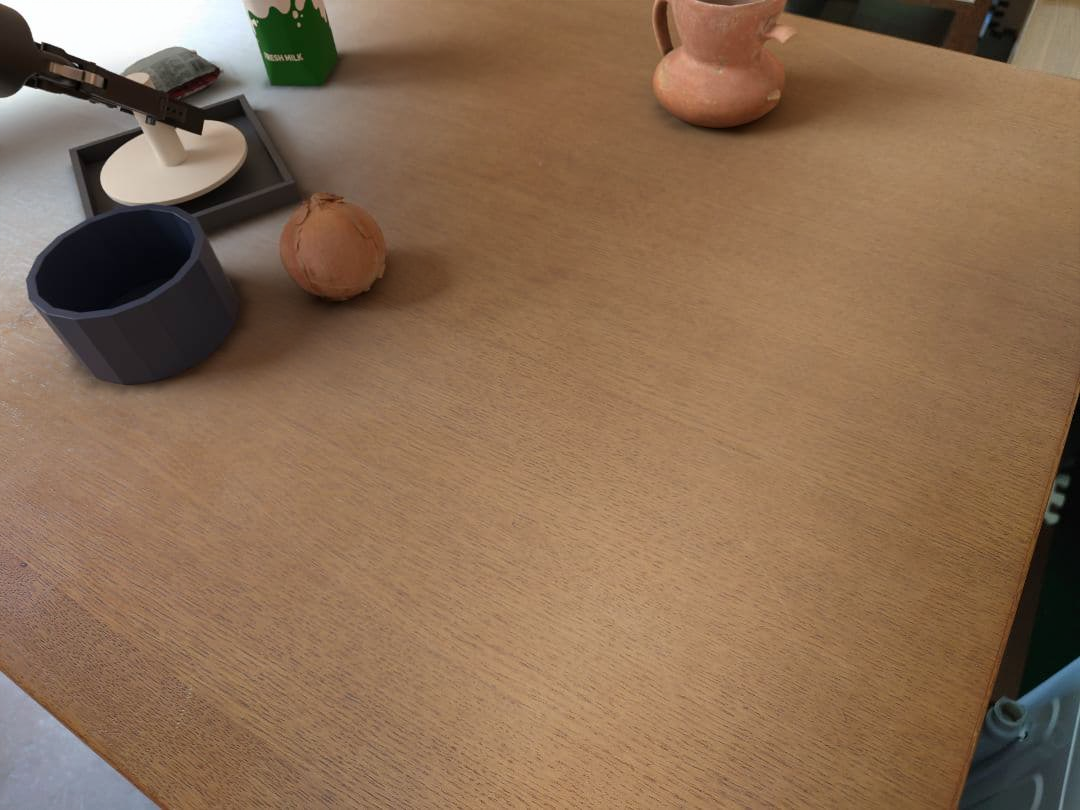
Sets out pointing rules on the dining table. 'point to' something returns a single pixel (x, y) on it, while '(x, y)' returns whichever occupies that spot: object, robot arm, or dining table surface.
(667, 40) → the ceramic jug
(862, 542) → the dining table surface
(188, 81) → the packaged food
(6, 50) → the robot arm
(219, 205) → the tray
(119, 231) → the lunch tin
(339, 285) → the onion
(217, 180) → the tin lid
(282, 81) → the milk carton
